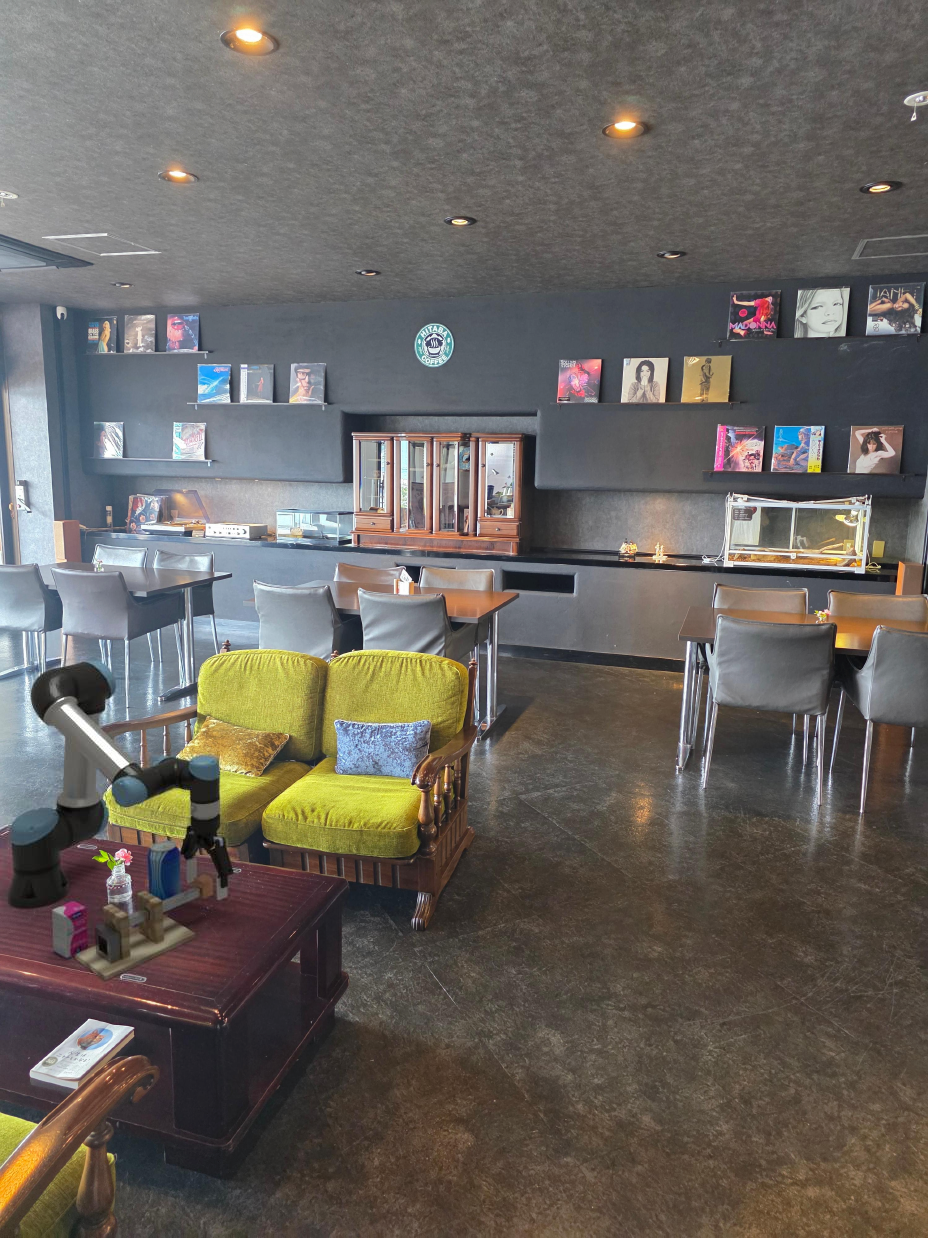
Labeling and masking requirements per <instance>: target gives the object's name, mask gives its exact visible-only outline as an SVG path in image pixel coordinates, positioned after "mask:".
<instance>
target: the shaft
mask: <svg viewBox="0 0 928 1238" xmlns="http://www.w3.org/2000/svg"><path fill="white" fill-rule="evenodd" d="M213 881H214V879H213V878H212V877H210V876H208V875H207V874H201V875H199V876H197V877H196V878H194V881H193V887H191V888H190V889H187V890H185V891H181V893H180V894H177V895H175V896H173V897H170V898H168V899H166V900H163V913H165V912H167V911H170V910H172V909H175V908H176V907H179V906H181V905H184V904H186V903H188V902H190V901H193V900H195V899H197V898H201V899H203V900H204V899H207V898H209V897H211V896H213V895H214V882H213ZM128 915H129V928H131V927H133V926H135V925H139V923H140V922H142V921H145V920H147V919H149V918H150V910H149V909H147V908H144V909H142V910H140V911H138V910H137V911H135V912H133V913H130V914H128Z"/></svg>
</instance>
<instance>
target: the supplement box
mask: <svg viewBox="0 0 928 1238" xmlns="http://www.w3.org/2000/svg"><path fill="white" fill-rule="evenodd" d="M87 909H88V907H86V906H85V905H82V904H80V903H79V902H76V901H75V900H72V901H70V902H68V903H65V904H61V905H60V906H59V907H56V908H54V909H52V910H51V914H52V916H51V917H52V919H51V920H52V941H53V942H52V943H53V953H54V955H58V956H59V957H61V958H63V959H65V960H69V959H70V958H73V957H75V954H77V953H79V952H81V951H84V950H86V949H88V948H89V940H88V938H89V937H88V913H87V912H88V910H87Z"/></svg>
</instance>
